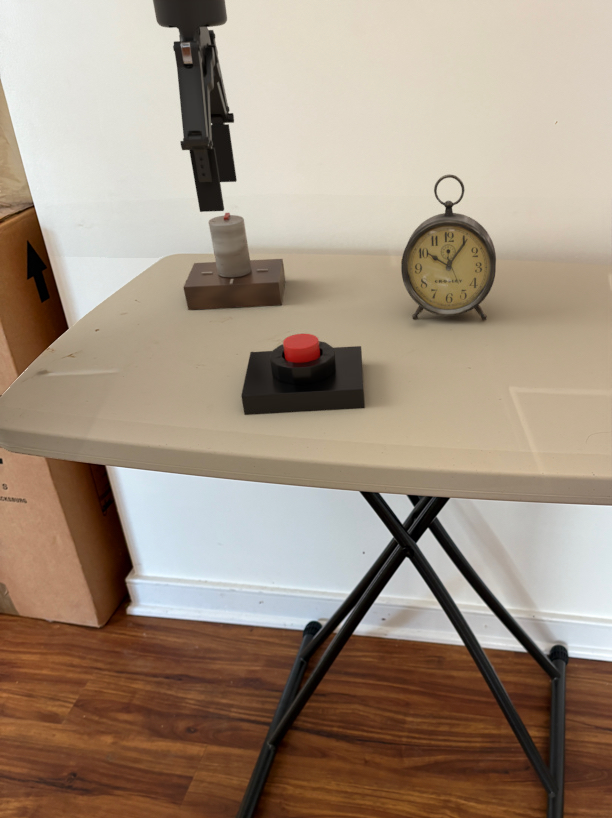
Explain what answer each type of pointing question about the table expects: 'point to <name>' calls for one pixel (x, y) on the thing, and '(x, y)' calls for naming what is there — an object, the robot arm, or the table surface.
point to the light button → (301, 348)
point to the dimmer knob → (230, 245)
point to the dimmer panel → (235, 286)
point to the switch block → (304, 381)
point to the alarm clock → (449, 262)
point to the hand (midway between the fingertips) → (219, 195)
